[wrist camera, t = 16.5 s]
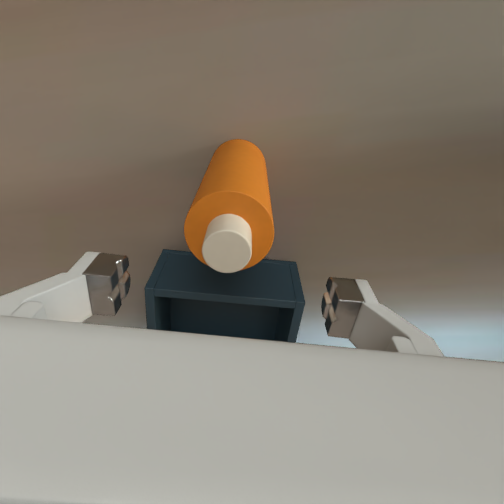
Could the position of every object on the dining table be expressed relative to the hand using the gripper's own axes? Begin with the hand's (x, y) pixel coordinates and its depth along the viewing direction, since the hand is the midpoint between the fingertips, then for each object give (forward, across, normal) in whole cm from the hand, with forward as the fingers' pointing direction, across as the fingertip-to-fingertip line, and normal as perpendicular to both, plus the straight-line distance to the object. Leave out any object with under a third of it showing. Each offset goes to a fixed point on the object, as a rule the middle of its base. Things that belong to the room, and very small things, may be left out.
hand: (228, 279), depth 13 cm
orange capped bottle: (+18, 0, 0) cm, 18 cm away
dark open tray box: (+17, 0, +16) cm, 24 cm away
